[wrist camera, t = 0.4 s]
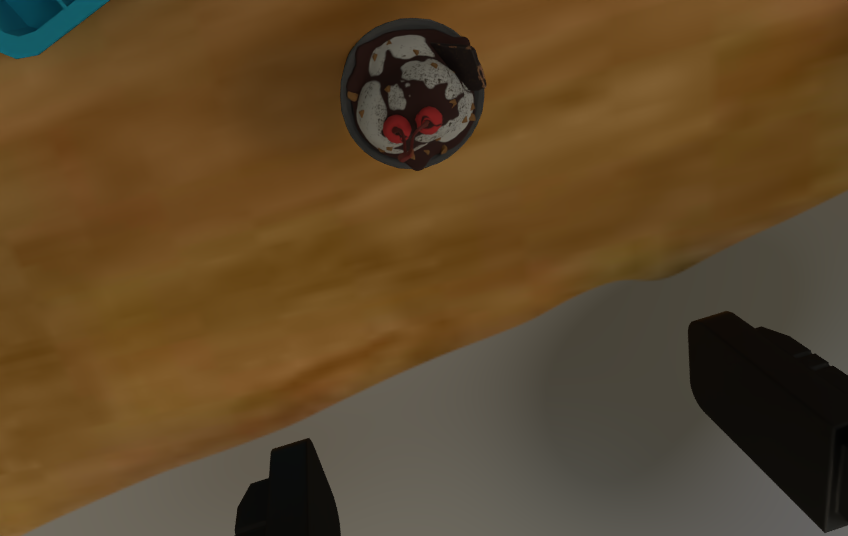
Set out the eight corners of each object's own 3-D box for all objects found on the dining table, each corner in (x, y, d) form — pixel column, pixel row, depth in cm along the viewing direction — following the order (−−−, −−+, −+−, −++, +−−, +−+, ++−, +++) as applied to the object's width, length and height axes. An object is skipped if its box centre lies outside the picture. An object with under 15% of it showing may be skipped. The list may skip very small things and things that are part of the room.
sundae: (331, 132, 37) (350, 201, 24) (328, 14, 35) (346, 16, 21) (436, 132, 38) (511, 198, 25) (440, 18, 36) (526, 22, 22)
